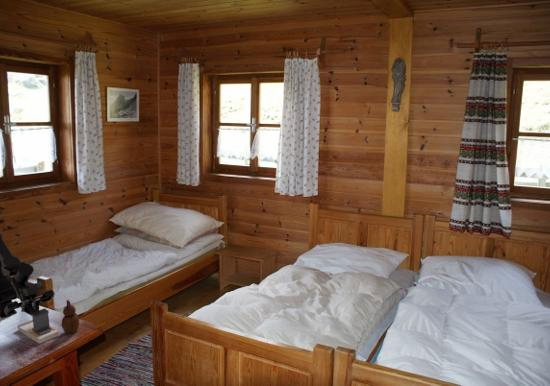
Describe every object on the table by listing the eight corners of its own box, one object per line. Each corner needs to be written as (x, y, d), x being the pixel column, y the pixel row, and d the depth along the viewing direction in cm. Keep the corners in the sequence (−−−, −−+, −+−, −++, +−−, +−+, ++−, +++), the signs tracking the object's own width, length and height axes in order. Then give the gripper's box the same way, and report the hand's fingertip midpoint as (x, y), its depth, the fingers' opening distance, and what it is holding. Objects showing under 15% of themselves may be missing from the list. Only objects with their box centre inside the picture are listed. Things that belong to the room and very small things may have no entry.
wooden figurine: (72, 336, 190) (69, 302, 187) (60, 334, 192) (56, 300, 188) (82, 328, 197) (79, 295, 194) (70, 326, 198) (66, 294, 195)
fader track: (18, 330, 195) (17, 325, 195) (37, 322, 202) (36, 318, 201) (39, 343, 185) (38, 338, 184) (58, 335, 191) (58, 330, 190)
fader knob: (31, 330, 190) (29, 312, 188) (44, 325, 194) (42, 307, 193) (39, 335, 187) (36, 316, 185) (52, 330, 191) (50, 311, 189)
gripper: (3, 285, 183) (20, 318, 179) (50, 271, 198) (66, 301, 193) (-3, 298, 189) (13, 331, 185) (42, 284, 204) (58, 314, 200)
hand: (38, 319), depth 191 cm, fingers closed, pressing on fader knob
